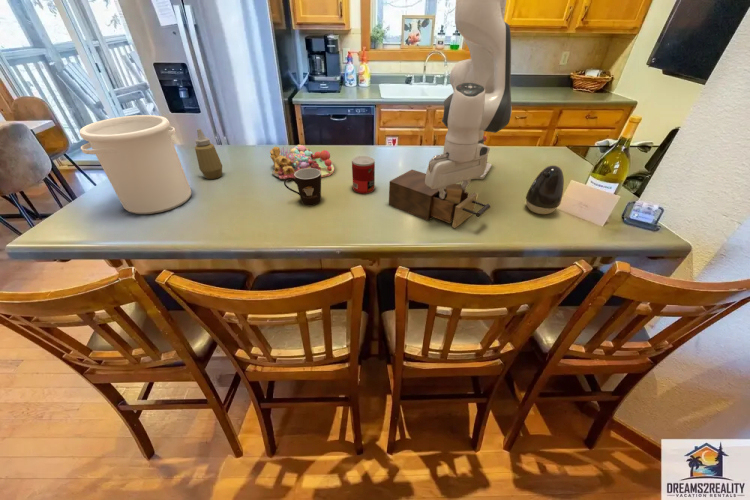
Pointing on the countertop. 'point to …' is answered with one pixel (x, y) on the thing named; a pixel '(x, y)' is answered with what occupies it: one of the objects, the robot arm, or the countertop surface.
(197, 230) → the countertop surface
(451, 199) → the block
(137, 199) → the bucket
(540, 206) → the dark egg ornament
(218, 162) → the squeeze bottle
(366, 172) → the canned food
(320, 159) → the candy landscape model
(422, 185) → the cabinet
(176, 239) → the countertop surface
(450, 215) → the drawer
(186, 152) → the countertop surface
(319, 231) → the countertop surface
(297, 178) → the coffee mug
